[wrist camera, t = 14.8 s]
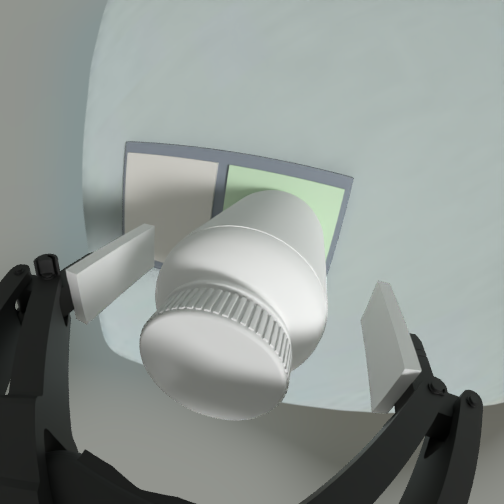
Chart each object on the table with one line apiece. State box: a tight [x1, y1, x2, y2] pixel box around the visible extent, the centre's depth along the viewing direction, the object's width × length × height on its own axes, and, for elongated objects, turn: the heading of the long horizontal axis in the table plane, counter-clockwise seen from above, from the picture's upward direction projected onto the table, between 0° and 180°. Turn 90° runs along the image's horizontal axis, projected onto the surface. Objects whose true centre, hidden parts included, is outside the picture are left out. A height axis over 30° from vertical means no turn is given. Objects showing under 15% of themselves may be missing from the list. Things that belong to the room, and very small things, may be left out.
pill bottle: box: [140, 190, 328, 420], centre depth 15 cm, size 8×8×15 cm
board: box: [123, 141, 354, 277], centre depth 23 cm, size 12×20×1 cm, turn 81°
